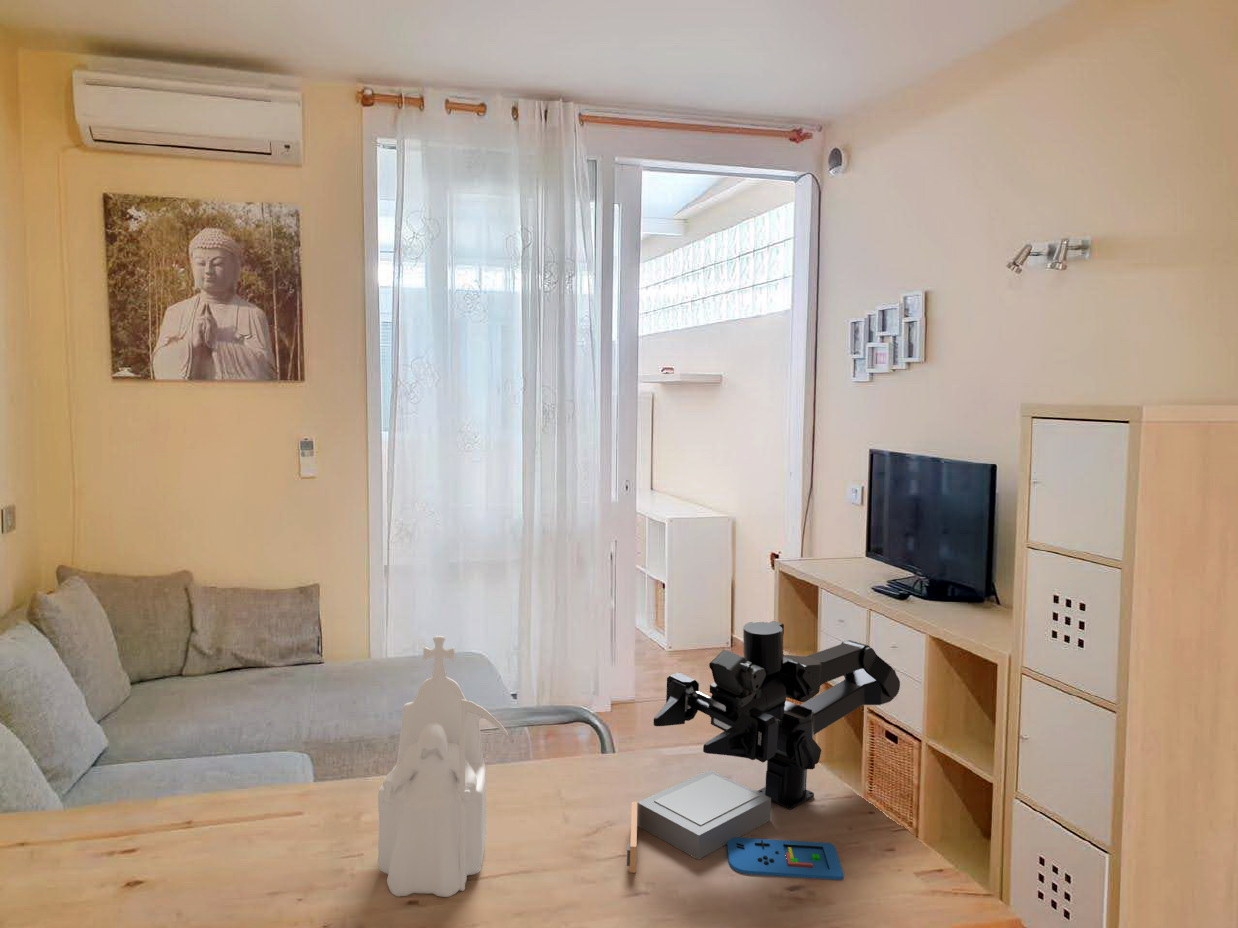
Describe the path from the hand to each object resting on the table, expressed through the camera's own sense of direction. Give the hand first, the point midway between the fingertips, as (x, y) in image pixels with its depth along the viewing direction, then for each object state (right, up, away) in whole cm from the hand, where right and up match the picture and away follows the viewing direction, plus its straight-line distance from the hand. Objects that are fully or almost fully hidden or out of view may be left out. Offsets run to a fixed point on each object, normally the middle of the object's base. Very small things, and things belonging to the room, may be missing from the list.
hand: (678, 735), depth 119 cm
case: (+4, -16, +10) cm, 20 cm away
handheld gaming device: (+14, -18, +1) cm, 23 cm away
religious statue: (-31, -17, -3) cm, 35 cm away
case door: (-6, -16, +3) cm, 18 cm away
